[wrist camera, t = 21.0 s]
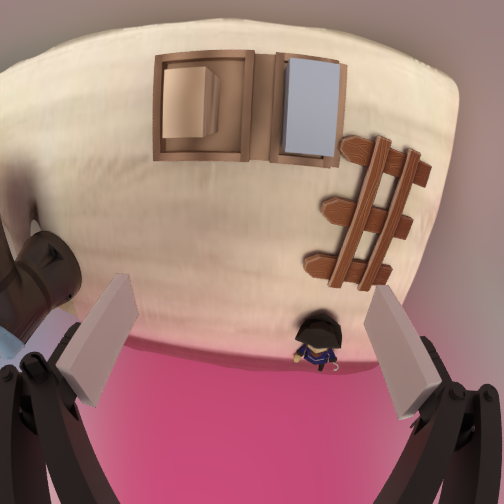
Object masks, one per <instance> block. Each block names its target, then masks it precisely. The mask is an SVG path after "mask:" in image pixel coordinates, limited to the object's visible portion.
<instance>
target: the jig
mask: <svg viewBox="0 0 504 504" xmlns="http://www.w3.org/2000/svg"><path fill="white" fill-rule="evenodd" d="M290 58H298V59H307V60H315V61H322V62H328V63H334V64H340V63H339V61H338V60H333V59H327V58H321V57H314V56H307V55H299V54H290V53H279V52H276V55H269V54H255V50H206V51H191V52H180V53H170V54H162V55H155V66H154V85H153V161H238V162H249V159H250V160H267V161H269V162H270V163H282V164H294V165H304V166H314V167H323V168H330V167H338V168H339V161H340V153H341V152H340V151H339V150H338V145H339V142H340V139H342V134H343V124H344V112H345V99H346V84H347V65H345V64H340V78H339V98H338V113H337V127H336V138H335V149H334V157H331V156H322V155H313V154H302V153H290V152H285V151H284V149H283V148H282V146H281V137H282V120H283V101H284V79H285V68H286V66H287V64H288V61H289V59H290ZM191 67H207V68H208V69H209V70H210V71H212V72H213V73H214V74H215V75H216V76H218V77H219V78H220V79H221V80H220V99H219V123H218V132H217V133H214V134H211V135H208V136H205V137H182V138H163V92H164V71H165V70H167V69H178V68H191Z"/></svg>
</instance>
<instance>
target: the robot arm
mask: <svg viewBox="0 0 504 504" xmlns="http://www.w3.org/2000/svg"><path fill="white" fill-rule="evenodd" d="M80 286H81V273H80V269H79V266H78V263H77V261H76V258H75V257H74V255H73V253H72V252H71V250H70V249H69V247H68V246H67V245H66V244H65V243H64V242H63V241H62V240H61V239H60V238H59V237H57V236H56V235H54V234H52V233H50V232H47V231H40V232H37V233H35V234H34V235H33V236H31V237H30V238H29V239H28V240H27V241H26V243H25V244H24V246H23V248H22V249H21V251H20V253H19V254H18V256H17V258H16V260H15V261H14V260H13V257H12V254H11V251H10V248H9V245H8V242H7V239H6V236H5V232H4V229H3V225H2V221H1V214H0V357H1V358H3V359H6V360H11V359H13V358H15V357H16V355H17V354H18V353H19V352H20V351H21V350H22V348H24V347H25V344H26V343H27V341H28V340H29V338H30V337H31V336H32V334H33V333H34V332H35V330H36V329H37V328H38V326H39V325H40V324H41V322H42V321H43V320H44V318H45V317H46V316H47V315H48V313H49V312H50V311H51V310H53V309H54V308H56V307H58V306H60V305H62V304H64V303H66V302H68V301H70V300H71V299H72V298H73V297H74V296H75V295H76V293H77V292H78V291H79V289H80ZM138 315H139V314H138V310H137V306H136V302H135V298H134V294H133V290H132V286H131V282H130V277H129V275H127V274H116V275H115V277H114V278H113V279H112V281H111V282H110V283H109V285H108V286H107V287H106V289H105V290H104V292H103V293H102V294H101V296H100V297H99V299H98V300H97V301H96V303H95V304H94V306H93V307H92V309H91V310H90V311H89V313H88V314H87V316H86V317H85V319H84V320H83V322H82V323H79V322H76V323H75V324H74V325H72V326H71V327H70V328H69V329H68V331H67V332H66V333H65V335H64V337H63V338H62V339H61V341H60V343H59V344H58V346H57V347H56V349H55V350H54V352H53V353H52V355H51V357H50V358H49V360H48V362H46V360H45V359H44V357H43V355H42V354H40V353H39V352H30V353H28V354H26V355H25V356H24V357H23V359H22V360H21V362H20V366H19V367H20V369H21V370H22V372H19V371H18V370H17V368H16V367H15V366H13V365H5V366H4V367H2V368H1V370H0V504H51V500H50V493H49V487H48V480H47V472H46V465H47V468H48V471H49V474H50V477H51V479H52V482H53V485H54V488H55V490H56V493H57V495H58V498H59V500H60V502H61V504H120V502H119V501H118V499H117V497H116V495H115V494H114V492H113V490H112V488H111V486H110V484H109V482H108V480H107V478H106V476H105V474H104V472H103V470H102V468H101V466H100V464H99V462H98V460H97V458H96V455H95V453H94V450H93V448H92V446H91V444H90V441H89V438H88V436H87V433H86V430H85V428H84V425H83V422H82V419H81V416H80V413H79V410H78V407H77V405H76V403H75V399H76V397H78V398H79V399H80V401H81V402H82V403H83V404H87V405H89V406H93V407H96V405H97V403H98V401H99V398H100V396H101V394H102V391H103V389H104V386H105V384H106V382H107V380H108V377H109V375H110V373H111V371H112V368H113V366H114V364H115V362H116V360H117V357H118V355H119V353H120V351H121V349H122V347H123V345H124V343H125V341H126V339H127V337H128V335H129V333H130V330H131V328H132V326H133V324H134V322H135V320H136V318H137V317H138ZM364 326H365V329H366V331H367V334H368V336H369V339H370V341H371V344H372V346H373V349H374V352H375V354H376V357H377V359H378V362H379V365H380V368H381V370H382V373H383V376H384V379H385V381H386V384H387V387H388V390H389V393H390V396H391V399H392V402H393V405H394V408H395V411H396V414H397V418H398V420H401V419H405V418H409V417H412V416H413V415H414V414H415V413H416V412H417V411H418V410H419V413H420V416H419V417H418V418H417V419H416V420H415V421H414V423H413V424H412V425H411V426H410V428H412V427H413V426H414V425H415V426H414V429H413V431H412V433H411V435H410V437H409V440H408V442H407V444H406V446H405V448H404V450H403V452H402V454H401V456H400V458H399V460H398V462H397V464H396V466H395V468H394V469H393V471H392V473H391V475H390V477H389V478H388V480H387V482H386V483H385V485H384V487H383V489H382V490H381V492H380V493H379V495H378V496H377V498H376V500H375V501H374V503H373V504H432V503H433V501H434V499H435V497H436V495H437V493H438V491H439V488H440V486H441V483H442V481H443V485H442V490H441V495H440V499H439V503H438V504H498V497H499V490H500V480H501V466H502V465H501V464H502V427H501V412H500V402H499V395H498V392H497V390H496V389H495V387H493V386H492V385H490V384H484V385H482V386H481V387H480V389H479V390H478V391H469V390H466V389H465V388H464V387H463V385H461V384H460V383H458V382H453V381H452V380H451V378H450V376H449V374H448V372H447V370H446V368H445V366H444V364H443V362H442V360H441V359H440V356H439V355H438V353H437V352H436V349H435V347H434V346H433V344H432V343H431V341H430V340H428V339H427V338H426V337H425V336H420V337H419V335H418V334H417V332H416V330H415V328H414V327H413V325H412V323H411V321H410V319H409V318H408V316H407V314H406V313H405V311H404V309H403V308H402V306H401V304H400V302H399V301H398V299H397V298H396V296H395V294H394V293H393V291H392V290H391V288H390V286H389V285H377V286H376V289H375V292H374V295H373V298H372V301H371V304H370V307H369V310H368V313H367V315H366V318H365V321H364ZM19 407H20V408H19ZM45 461H46V462H45ZM443 479H444V480H443Z"/></svg>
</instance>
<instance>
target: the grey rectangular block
mask: <svg viewBox="0 0 504 504" xmlns="http://www.w3.org/2000/svg"><path fill="white" fill-rule="evenodd" d="M339 78H340V64H334V63H328V62H322V61H315V60H307V59H298V58H290V59H289V61H288V64H287V66H286V68H285V79H284V101H283V120H282V137H281V146H282V148H283V149H284V151H285V152H290V153H302V154H313V155H322V156H331V157H334V149H335V138H336V127H337V113H338V98H339Z"/></svg>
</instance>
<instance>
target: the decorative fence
mask: <svg viewBox="0 0 504 504" xmlns="http://www.w3.org/2000/svg"><path fill="white" fill-rule="evenodd" d="M391 142H392V141H391V140H390V139H387V138H385V137H382V136H380V135H377V136H376V140H375V142H373V141H370V140H367V139H364V138H361V137H359V136H355V135H352V136H349V137H346V138H342V139H340V142H339V145H338V150H339V151H340V152H341V154H342V155H343V156H344V157H345V158H346V159H347V160H348V161H350V162H353V163H356V164H359V165H363V166H366V167H368V169H367V172H366V176H365V179H364V182H363V186H362V189H361V192H360V195H359V198H358V202H354V201H350V200H346V199H342V198H338V197H336V198H333V199H330V200H327V201H324V202H323V203H322V207H321V210H320V211H321V213H322V214H323V215H324V216H325V217H326V219H327V220H328V221H329V222H330V223H331V224H336V225H340V226H345V227H349V228H348V231H347V234H346V237H345V240H344V242H343V245H342V248H341V251H340V253H339V256H338V257H335V256H329V255H322V254H316V255H314V256H311V257H308V258H306V259H305V261H304V264H303V268H304V270H305V271H306V272H307V273H308V274H309V275H310V276H311V277H313V278H320V279H328V280H329V282H328V284H327V285H328V287H332V288H341V286H342V283H343V281H344V282H352V283H359V285H358V287H357V289H358V291H369V290H370V288H371V286H372V285H385V284H386V282H387V280H388V278H389V276H390V274H391V272H392V270H393V269H392V267H391V266H390V265H384V264H382V262H383V259H384V257H385V255H386V252H387V250H388V248H389V245H390V243H391V240H392V238H393V237H395V238H399V239H403V240H406V238H407V236H408V233H409V231H410V228H411V226H412V223H413V219H412V218H411V217H408V216H405V215H402V212H403V209H404V206H405V203H406V201H407V198H408V195H409V192H410V189H411V186H412V183H414V184H417V185H419V186H422V187H424V188H425V187H426V184H427V181H428V177H429V174H430V171H431V168H432V166H430V165H428V164H426V163H424V162H422V161H420V156H421V153H420V152H417V151H415V150H413V149H411V148H408V151H407V154H403V153H401V152H399V151H396V150H394V149H391V148H390V146H391ZM383 172H384V173H387V174H390V175H392V176H395V177H398V178H399V181H398V184H397V187H396V190H395V193H394V196H393V199H392V202H391V205H390V208H389V211H388V210H384V209H380V208H377V207H373V206H372V205H373V202H374V199H375V196H376V193H377V190H378V187H379V184H380V181H381V177H382V174H383ZM363 231H368V232H373V233H377V234H380V235H379V238H378V240H377V243H376V245H375V248H374V250H373V252H372V255H371V257H370V260H369V262H366V261H359V260H353V257H354V254H355V252H356V249H357V247H358V244H359V241H360V239H361V236H362V233H363Z"/></svg>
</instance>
